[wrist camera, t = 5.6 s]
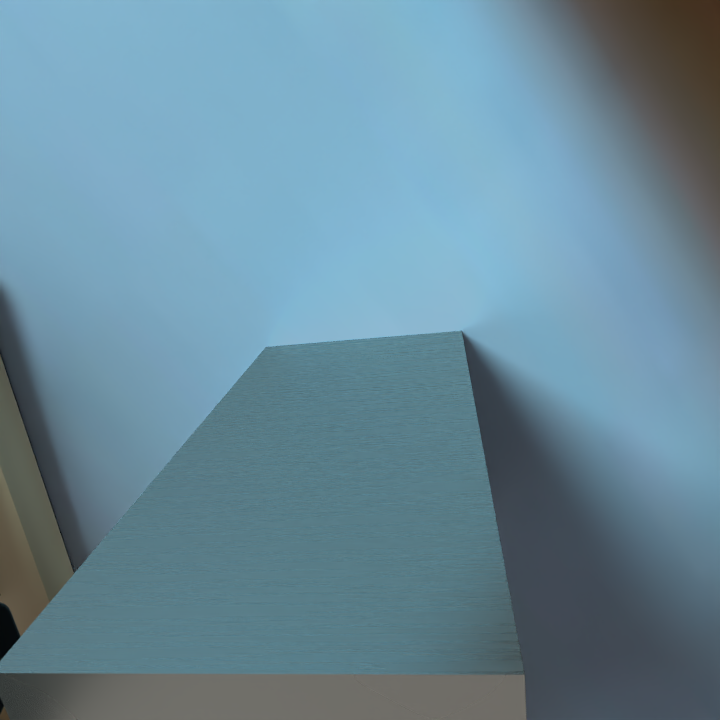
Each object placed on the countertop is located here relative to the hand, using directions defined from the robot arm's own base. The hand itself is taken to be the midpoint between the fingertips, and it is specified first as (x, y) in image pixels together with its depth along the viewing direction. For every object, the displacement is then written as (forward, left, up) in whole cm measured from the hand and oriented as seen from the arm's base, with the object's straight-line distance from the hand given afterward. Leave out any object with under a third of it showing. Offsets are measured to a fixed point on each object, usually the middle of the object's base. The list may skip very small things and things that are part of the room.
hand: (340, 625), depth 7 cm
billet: (0, 0, -6) cm, 6 cm away
